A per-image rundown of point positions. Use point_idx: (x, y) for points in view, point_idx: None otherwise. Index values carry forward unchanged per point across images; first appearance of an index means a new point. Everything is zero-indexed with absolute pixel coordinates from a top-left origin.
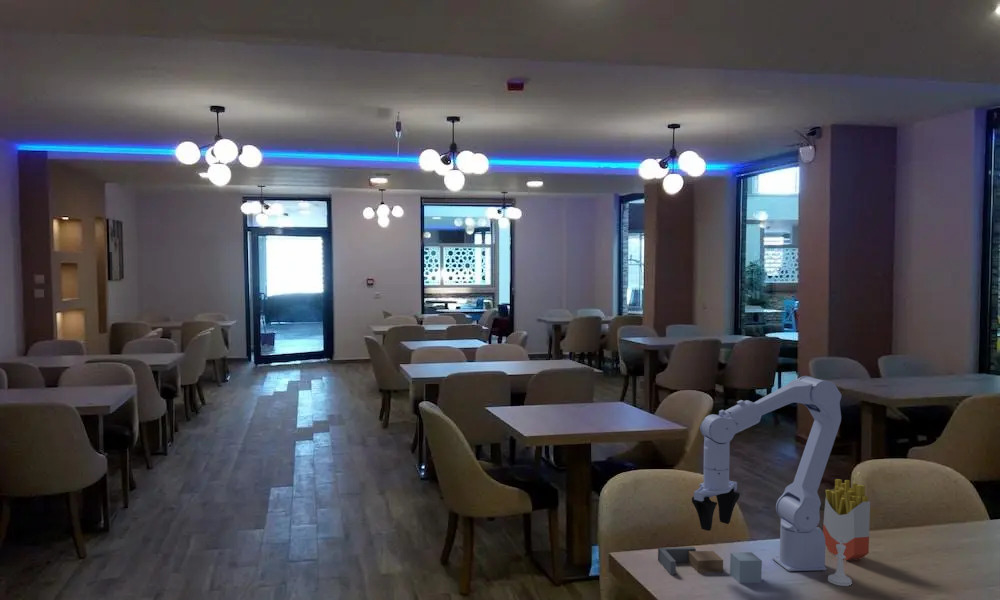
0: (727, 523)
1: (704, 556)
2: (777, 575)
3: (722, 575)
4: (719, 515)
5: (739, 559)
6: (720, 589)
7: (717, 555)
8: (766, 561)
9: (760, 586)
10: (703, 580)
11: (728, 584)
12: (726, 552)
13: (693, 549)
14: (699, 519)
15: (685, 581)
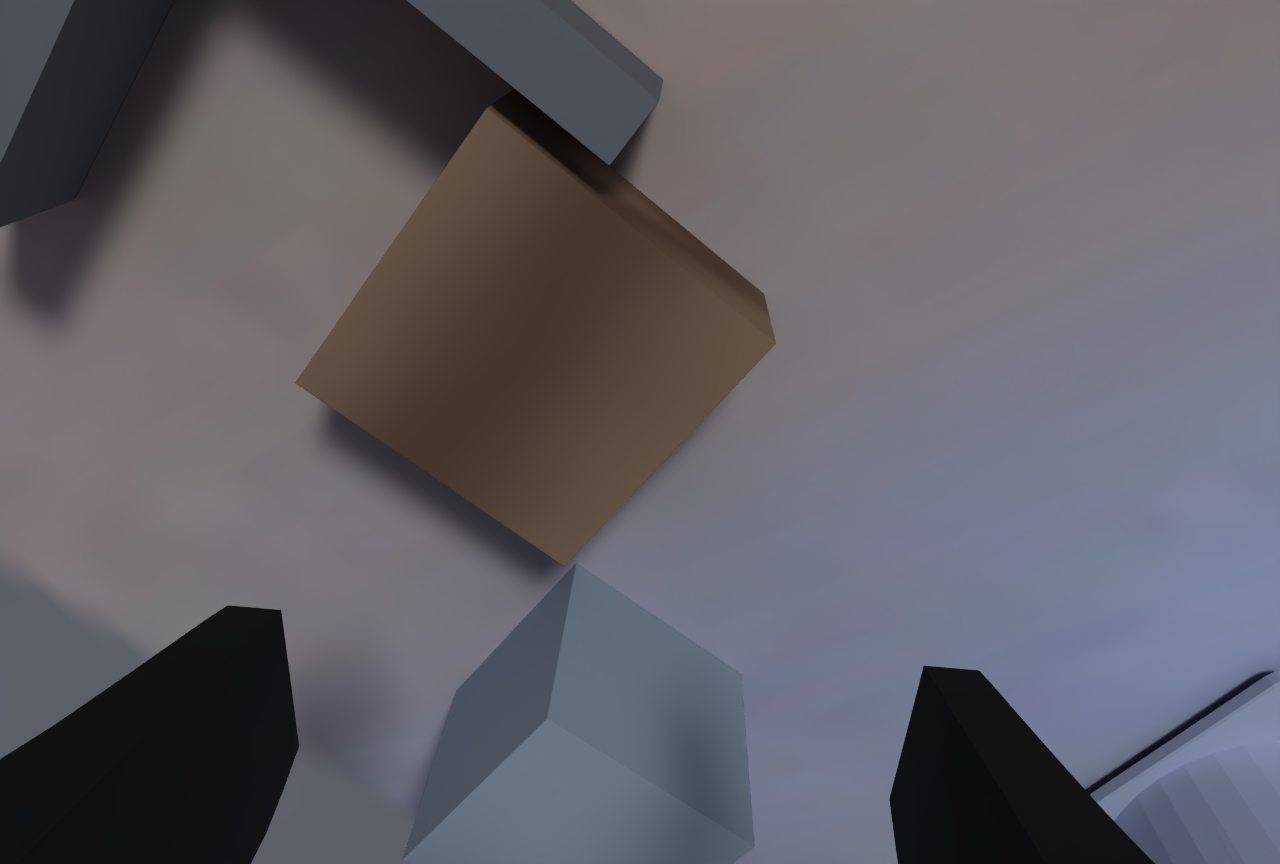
0: (894, 801)
1: (489, 370)
2: (872, 810)
3: (493, 530)
4: (966, 751)
5: (435, 845)
6: None
7: (652, 459)
8: (1179, 645)
9: None
10: (228, 470)
11: (353, 646)
12: (1220, 243)
13: (581, 140)
14: (69, 718)
15: (43, 368)
